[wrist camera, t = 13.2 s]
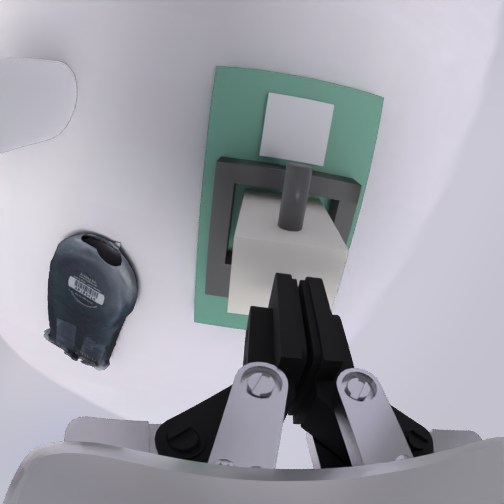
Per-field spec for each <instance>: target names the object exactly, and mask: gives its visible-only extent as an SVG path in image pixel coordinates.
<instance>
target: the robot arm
mask: <svg viewBox="0 0 504 504" xmlns="http://www.w3.org/2000/svg"><path fill="white" fill-rule="evenodd" d="M287 413H288V415H293V424H301V427H302V428H303V429H304V430H305V431H307V433H306V439H307V443H308V447H309V451H310V455H311V459H312V463H313V467H314V469H275V467H276V461H277V456H278V450H279V444H280V438H281V431H282V426H283V422H284V420H285V418H286V415H287ZM3 504H504V437H496V438H490V439H486V440H482V439H481V438H480V436H479V435H478V434H477V433H475V432H473V431H455V430H436V429H435V430H434V429H433V430H431V431H430V432H428V431H427V430H426V429H425V428H424V427H423V426H421V425H420V424H418V423H416V422H415V421H414V420H412V419H411V418H409V417H408V416H406V415H405V414H403V413H402V412H400V411H399V410H397V409H396V408H394V407H393V406H391V405H390V403H389V401H388V399H387V397H386V395H385V393H384V390H383V388H382V386H381V384H380V382H379V381H378V379H377V378H376V377H375V376H374V375H373V374H371V373H370V372H368V371H366V370H363V369H359V368H354V366H353V361H352V357H351V354H350V350H349V346H348V343H347V339H346V336H345V332H344V329H343V325H342V322H341V319H340V317H339V316H338V315H332V312H331V309H330V305H329V301H328V298H327V294H326V291H325V287H324V283H323V280H322V279H321V278H315V277H306V278H305V280H300V282H299V285H298V284H297V279H292V275H291V274H284V273H277V272H276V273H275V277H274V282H273V286H272V291H271V296H270V300H269V305H268V308H265V307H257V306H250V311H249V317H248V322H247V329H246V337H245V347H244V360H243V367H241V368H240V369H239V370H238V372H237V374H236V375H235V379H234V382H233V385H231V386H229V387H228V388H226V389H224V390H222V391H221V392H219V393H217V394H215V395H214V396H212V397H210V398H208V399H207V400H205V401H203V402H201V403H199V404H198V405H196V406H194V407H192V408H190V409H188V410H186V411H184V412H183V413H181V414H179V415H177V416H175V417H173V418H171V419H169V420H167V421H166V422H164V423H163V424H149V422H148V421H133V420H117V419H105V418H95V417H78V418H76V419H74V420H72V421H71V422H70V423H69V424H68V426H67V428H66V431H65V437H64V442H63V441H60V442H53V443H47V444H43V445H40V446H38V447H36V448H35V449H33V450H32V451H31V452H30V453H29V454H28V455H27V456H26V458H25V459H24V460H23V462H22V463H21V465H20V466H19V468H18V470H17V472H16V473H15V475H14V478H13V480H12V482H11V484H10V486H9V489H8V491H7V493H6V496H5V499H4V502H3Z"/></svg>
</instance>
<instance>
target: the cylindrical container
mask: <svg viewBox="0 0 504 504" xmlns="http://www.w3.org/2000/svg"><path fill="white" fill-rule="evenodd" d="M76 99H77V85H76V80H75V76H74V74H73V72H72V70H71V69H70V68H69V67H68V66H67V65H66V64H64V63H63V62H60V61H55V60H44V59H32V58H13V57H0V154H2V153H5V152H8V151H11V150H14V149H17V148H20V147H24V146H27V145H31V144H34V143H38V142H42V141H45V140H49V139H51V138H54V137H55V136H57V135H58V134H60V133H61V132H62V131H63V129H64V128H65V127H66V126H67V124H68V123H69V121H70V119H71V117H72V115H73V112H74V109H75V105H76Z"/></svg>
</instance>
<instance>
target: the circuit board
mask: <svg viewBox="0 0 504 504" xmlns="http://www.w3.org/2000/svg"><path fill="white" fill-rule="evenodd" d="M383 100H384V97H380V96H377V95H374V94H371V93H367V92H364V91H360V90H357V89H353V88H349V87H345V86H341V85H337V84H333V83H329V82H325V81H320V80H315V79H310V78H305V77H300V76H295V75H289V74H283V73H277V72H270V71H263V70H255V69H247V68H237V67H226V66H217V67H216V74H215V81H214V88H213V95H212V103H211V110H210V118H209V127H208V135H207V144H206V153H205V163H204V173H203V184H202V195H201V207H200V220H199V234H198V249H197V266H196V286H195V312H194V322H197V323H203V324H210V325H216V326H223V327H230V328H237V329H244V330H246V329H247V322H248V317H249V315H244V314H236V313H228V312H227V310H228V298H229V287H230V275H231V264H232V253H233V243H234V235H235V231H236V227H237V222H238V218H239V214H240V210H241V206H242V202H243V197H244V193H245V189H252V190H260V191H268V192H276V193H282V192H283V185H284V178H285V172H286V165H287V163H300V164H305V165H308V166H311V167H313V170H312V176H311V182H310V188H309V194H308V197H312V198H319V199H320V201H321V202H322V204H323V206H324V207H325V209H326V211H327V213H328V214H329V216H330V218H331V220H332V221H333V223H334V225H335V227H336V228H337V230H338V232H339V234H340V235H341V237H342V239H343V241H344V243H345V245H346V246H347V248H348V250H349V248H350V244H351V241H352V237H353V234H354V230H355V227H356V223H357V219H358V216H359V212H360V208H361V204H362V200H363V196H364V192H365V188H366V184H367V180H368V175H369V171H370V167H371V162H372V158H373V153H374V148H375V143H376V139H377V133H378V128H379V123H380V118H381V112H382V106H383Z"/></svg>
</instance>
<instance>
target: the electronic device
mask: <svg viewBox="0 0 504 504" xmlns="http://www.w3.org/2000/svg"><path fill="white" fill-rule="evenodd" d="M88 238H92V239H96V240H100V241H102V242H104V243H106V244H108V245H109V246H111V247H112V248H114V249H115V250H116V251H117V252H119V254H120V255H121V258H122V262H121V265H120V266H112V265H109V264H108V263H106V262H105V261H104V260H103V259H102V258H101V257H100V255H99V254H98V252H97V249H96V248H94V247H92V246H91V245H89V244H87V243H85V242H83V241H82V240H81V239H88ZM120 244H121V243H118V242H116V243H113V242H110V241H109V240H107V239H105V238H102V237H99V236H96V235H91V234H80V235H76V236H71V237H69V238H66V239H65V240H63V241H62V242H61V243H60V244H59V245H58V247H57V249H56V251H55V254H54V256H53V259H52V260H51V263H50V271H49V279H48V315H49V323H50V324H49V325H50V328H49V329H47V330H45V331H44V332H45V334H44V337H45V338H46V340H48V341H50V342H51V343H53V344H54V345H56V346H58V347H59V348H61V349H63V350H64V351H65V352H64V353H65V354H66V355H68V356H69V357H71V358H72V359H73V360H75V361H77V360H78V359H82V360H83V361H81V362H82V363H83V364H86V365H90V366H92V367H94V368H95V369H97V370H105V369H106V368H107V367H108V366H109V365H110V362H109V359H110V357H111V353H112V351H113V348H114V346H115V345H116V341H117V338H118V336H119V333H120V330H121V328H122V326H123V323H124V321H125V318H126V316H128V315H129V314H130V313H131V312H132V311H133V309H134V306H135V303H136V298H137V282H136V278H135V275H134V272H133V270H132V268H131V266H130V264H129V263H128V261H127V260H126V258H125V257H124V256H123V255H122V253H121V252H120V251H119V247H120Z"/></svg>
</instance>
